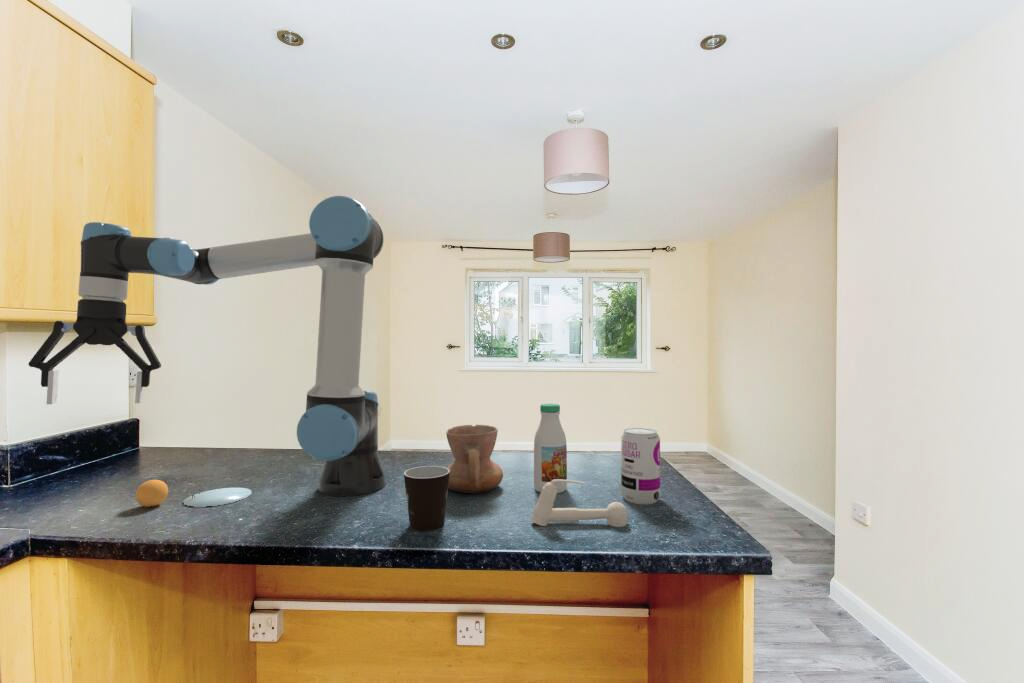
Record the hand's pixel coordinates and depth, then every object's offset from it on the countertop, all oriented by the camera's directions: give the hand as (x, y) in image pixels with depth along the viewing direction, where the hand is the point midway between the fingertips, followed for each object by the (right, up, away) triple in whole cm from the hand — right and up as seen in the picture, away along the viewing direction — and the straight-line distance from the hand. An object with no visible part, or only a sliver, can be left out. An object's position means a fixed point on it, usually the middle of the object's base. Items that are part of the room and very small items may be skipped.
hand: (96, 403), depth 95 cm
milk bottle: (+94, -22, +14) cm, 98 cm away
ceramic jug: (+76, -23, +14) cm, 81 cm away
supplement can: (+114, -22, +7) cm, 116 cm away
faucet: (+98, -23, -7) cm, 101 cm away
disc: (+19, -22, +9) cm, 31 cm away
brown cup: (+70, -22, -6) cm, 73 cm away
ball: (+9, -20, +4) cm, 22 cm away
